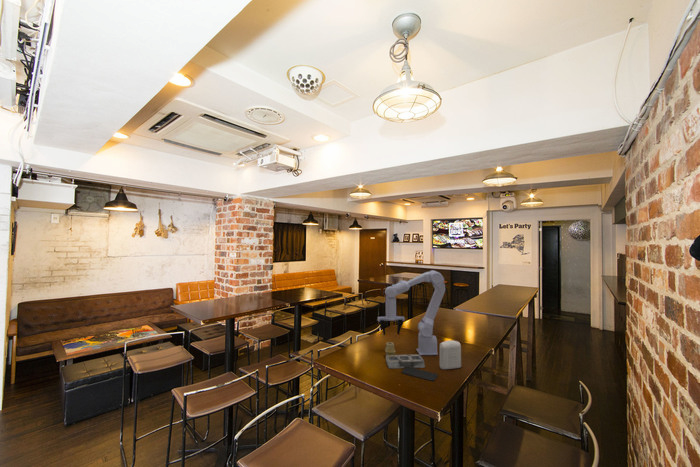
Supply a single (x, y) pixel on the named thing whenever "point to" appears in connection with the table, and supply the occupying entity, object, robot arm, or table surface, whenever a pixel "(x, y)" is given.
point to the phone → (420, 373)
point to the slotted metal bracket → (404, 361)
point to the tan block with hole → (390, 348)
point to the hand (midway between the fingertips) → (391, 334)
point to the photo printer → (450, 354)
